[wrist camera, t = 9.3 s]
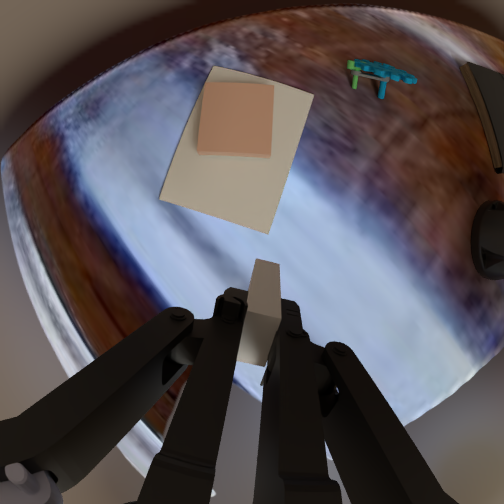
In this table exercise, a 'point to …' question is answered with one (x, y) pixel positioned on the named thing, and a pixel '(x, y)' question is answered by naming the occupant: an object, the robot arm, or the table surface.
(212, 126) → the tile
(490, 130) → the dark hardcover book
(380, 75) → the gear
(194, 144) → the felt mat
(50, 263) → the table surface
